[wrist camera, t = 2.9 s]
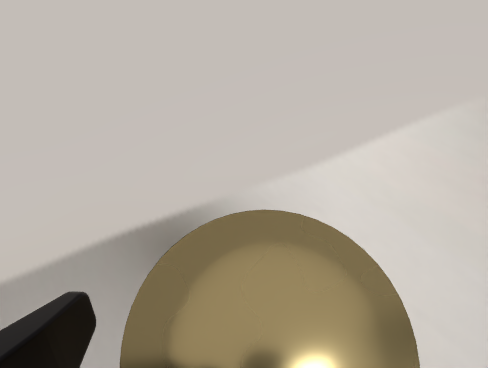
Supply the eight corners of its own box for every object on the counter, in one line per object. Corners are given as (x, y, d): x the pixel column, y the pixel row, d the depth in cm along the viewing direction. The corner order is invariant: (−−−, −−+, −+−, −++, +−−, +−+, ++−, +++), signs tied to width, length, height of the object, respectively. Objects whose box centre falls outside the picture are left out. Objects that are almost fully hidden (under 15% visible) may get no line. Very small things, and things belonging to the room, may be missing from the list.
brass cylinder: (331, 431, 14) (352, 633, 4) (222, 369, 15) (67, 425, 6) (373, 312, 15) (461, 276, 6) (269, 265, 16) (200, 173, 7)
